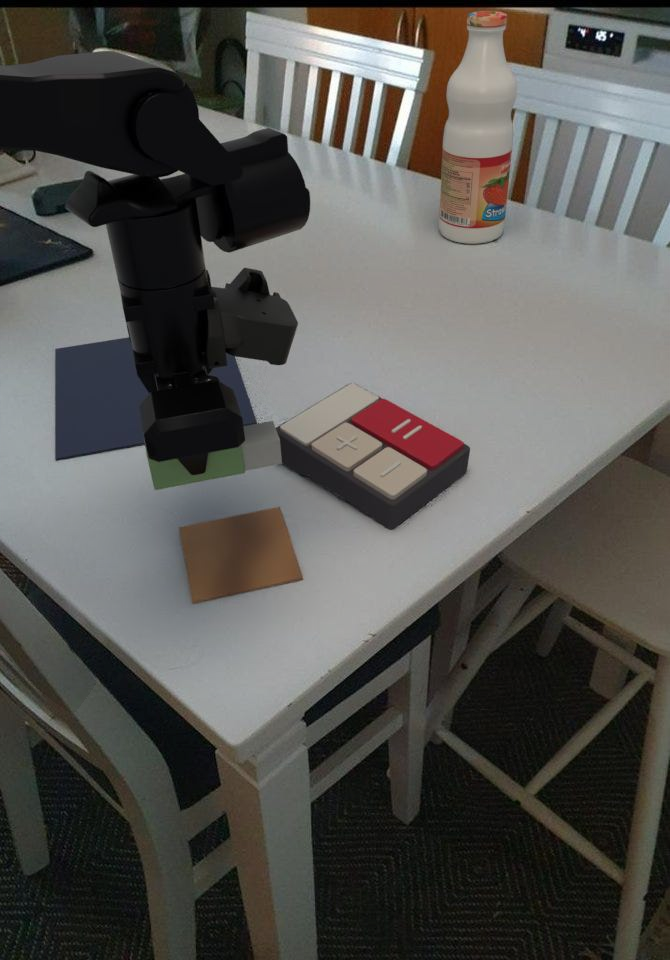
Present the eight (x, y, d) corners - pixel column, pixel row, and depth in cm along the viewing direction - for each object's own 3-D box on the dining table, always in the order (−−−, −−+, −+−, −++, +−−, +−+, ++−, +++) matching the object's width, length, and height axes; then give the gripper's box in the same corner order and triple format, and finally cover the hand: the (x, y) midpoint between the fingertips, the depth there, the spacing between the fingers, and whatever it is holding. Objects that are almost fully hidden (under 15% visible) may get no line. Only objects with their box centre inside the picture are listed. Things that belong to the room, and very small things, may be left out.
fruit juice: (443, 217, 123) (455, 6, 105) (506, 222, 121) (529, 7, 103) (433, 242, 116) (443, 21, 98) (499, 247, 114) (522, 22, 96)
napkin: (55, 460, 79) (55, 458, 79) (55, 350, 95) (55, 348, 95) (257, 424, 83) (256, 421, 82) (223, 324, 99) (223, 322, 99)
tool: (154, 490, 61) (146, 454, 59) (150, 465, 64) (142, 430, 62) (283, 466, 63) (279, 429, 61) (274, 442, 66) (270, 407, 63)
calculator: (393, 500, 67) (271, 422, 75) (391, 536, 70) (273, 458, 78) (473, 440, 73) (352, 374, 81) (468, 476, 76) (351, 409, 84)
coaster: (192, 603, 64) (191, 601, 64) (179, 529, 71) (178, 526, 70) (303, 579, 66) (302, 577, 65) (280, 509, 72) (279, 506, 72)
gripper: (316, 317, 47) (326, 516, 57) (255, 205, 61) (272, 380, 71) (123, 347, 45) (168, 548, 55) (106, 224, 59) (144, 402, 69)
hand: (195, 459), depth 63 cm, fingers closed on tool, 3 cm apart
